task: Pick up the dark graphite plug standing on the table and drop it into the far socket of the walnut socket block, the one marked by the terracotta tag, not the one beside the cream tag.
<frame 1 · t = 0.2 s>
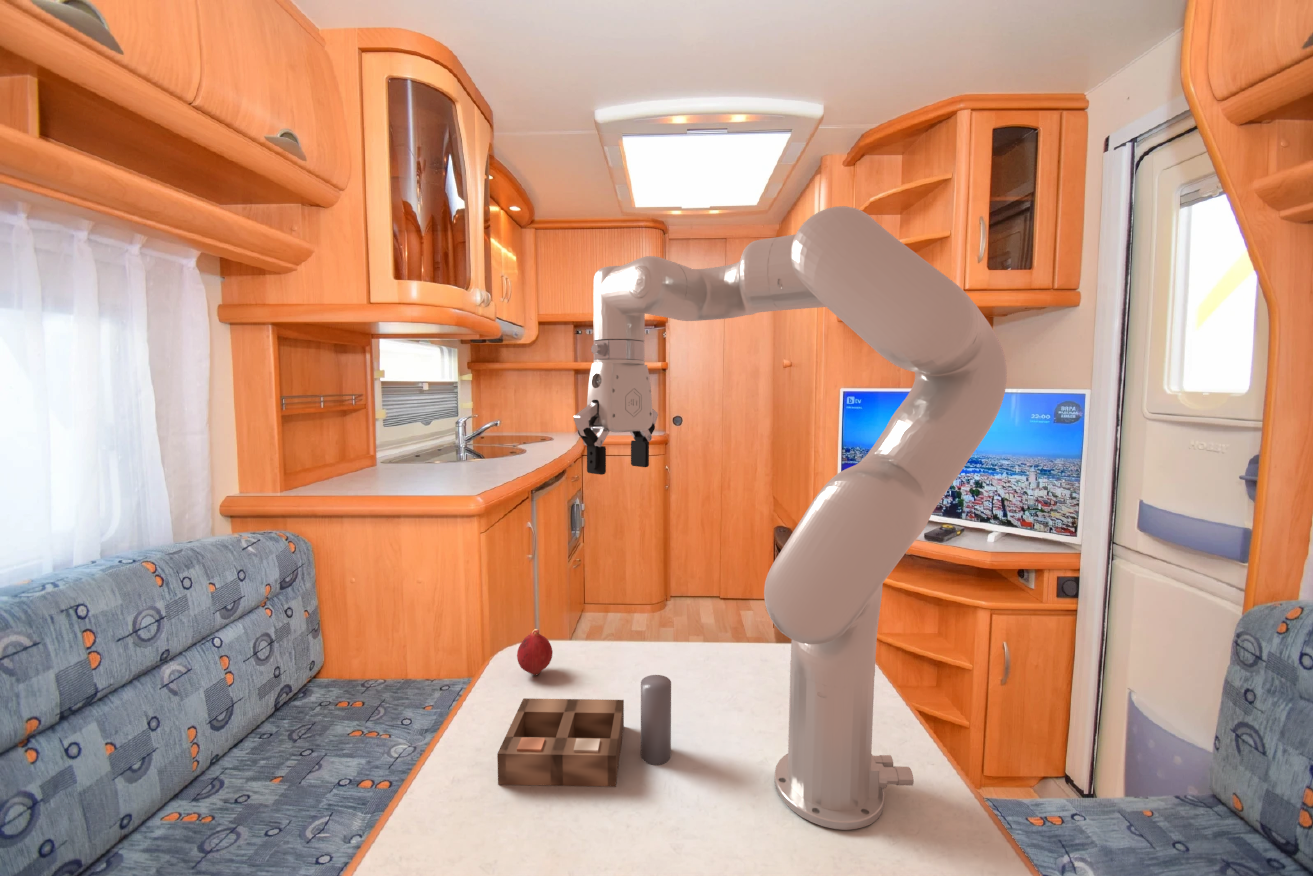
hand: (619, 469, 81), 36 cm above the table, tool pointing down, fingers open, 9 cm apart
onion: (535, 675, 92), on the table
plug: (655, 754, 72), on the table
socket block: (565, 753, 72), on the table
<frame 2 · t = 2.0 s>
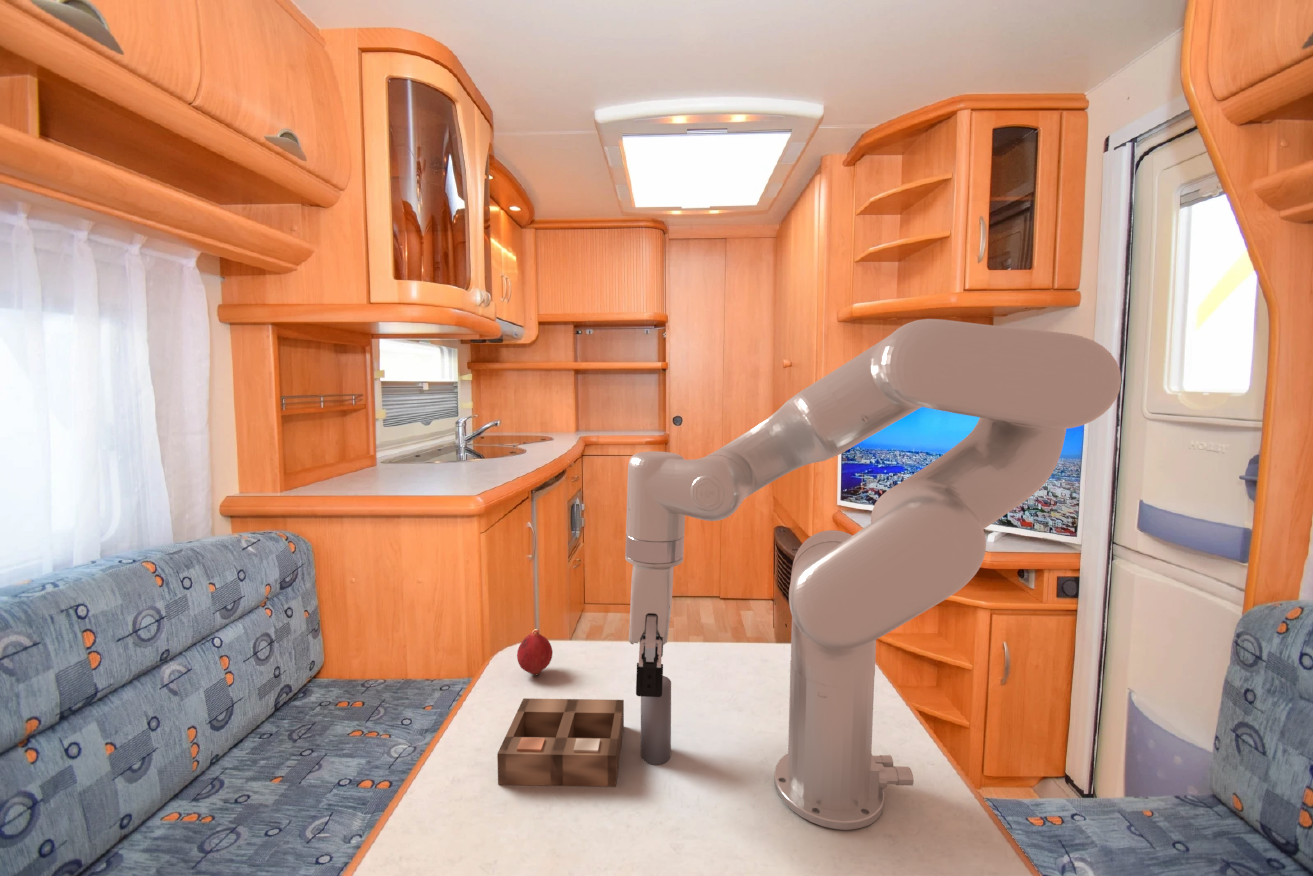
hand: (650, 674, 71), 11 cm above the table, tool pointing down, fingers open, 9 cm apart
nothing on the table moved.
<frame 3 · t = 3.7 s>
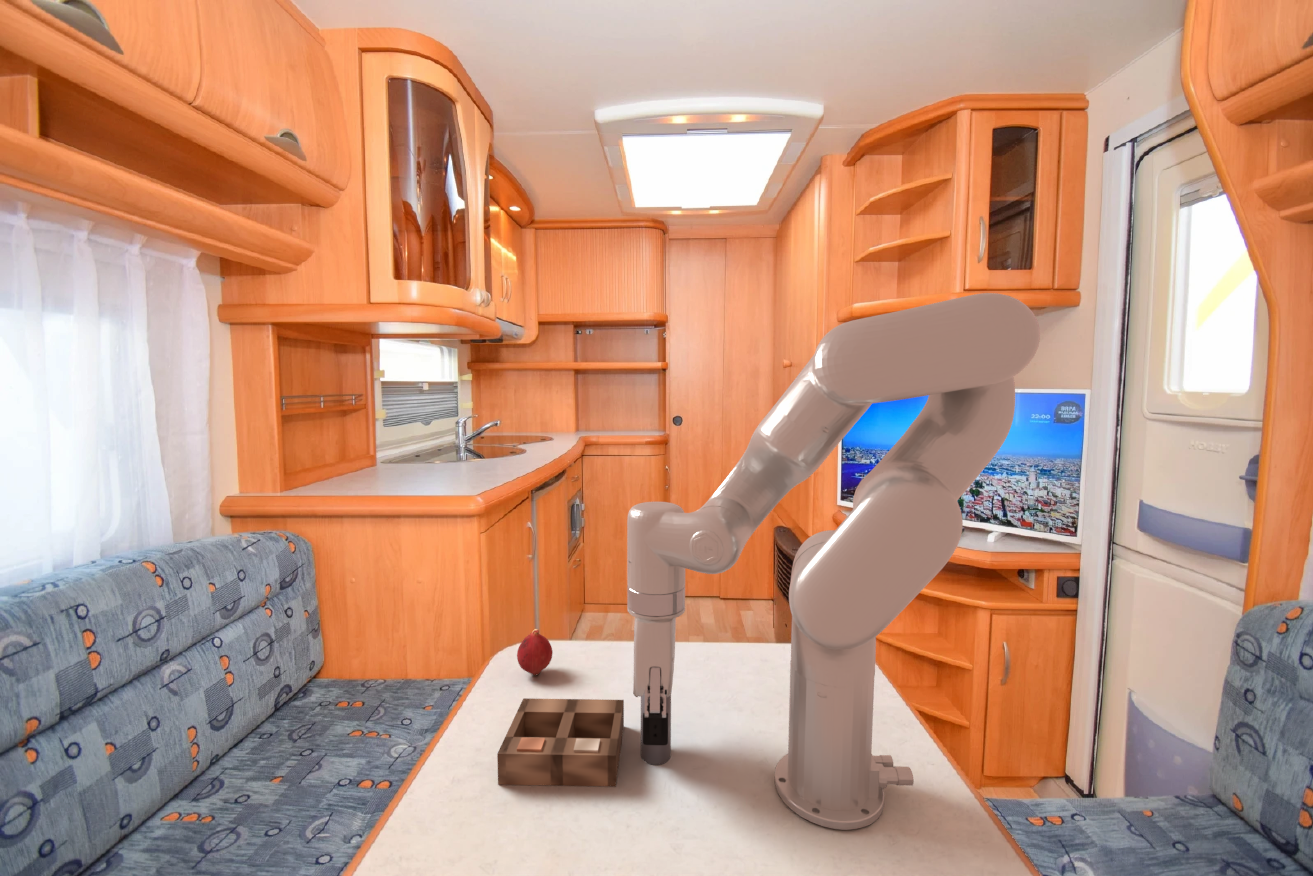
hand: (655, 731, 72), 3 cm above the table, tool pointing down, fingers closed on plug, 4 cm apart
plug: (655, 754, 72), on the table, touching gripper
everything else where it was.
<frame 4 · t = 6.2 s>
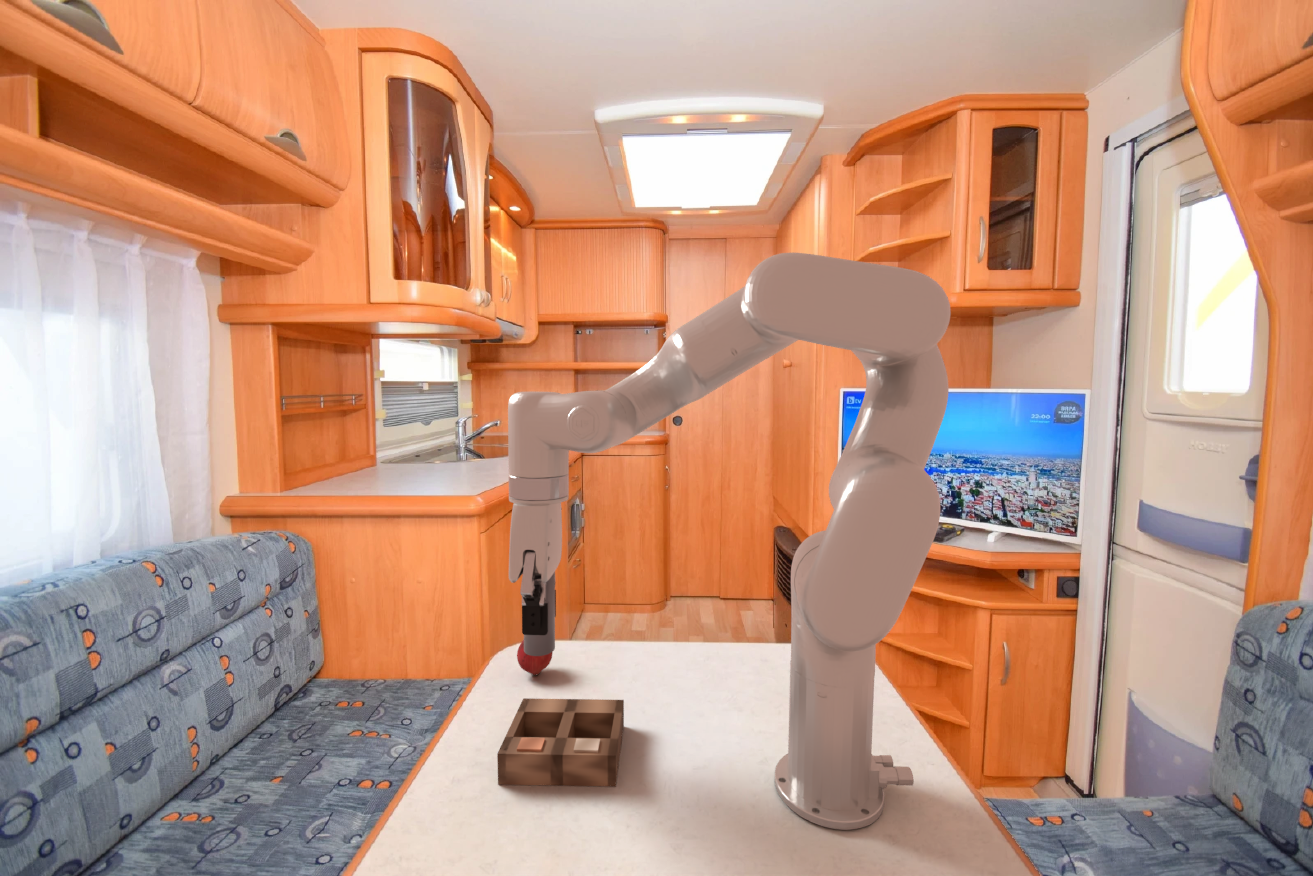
hand: (539, 624, 71), 18 cm above the table, tool pointing down, fingers closed on plug, 4 cm apart
plug: (539, 648, 71), point 14 cm above the table, touching gripper
everything else where it was.
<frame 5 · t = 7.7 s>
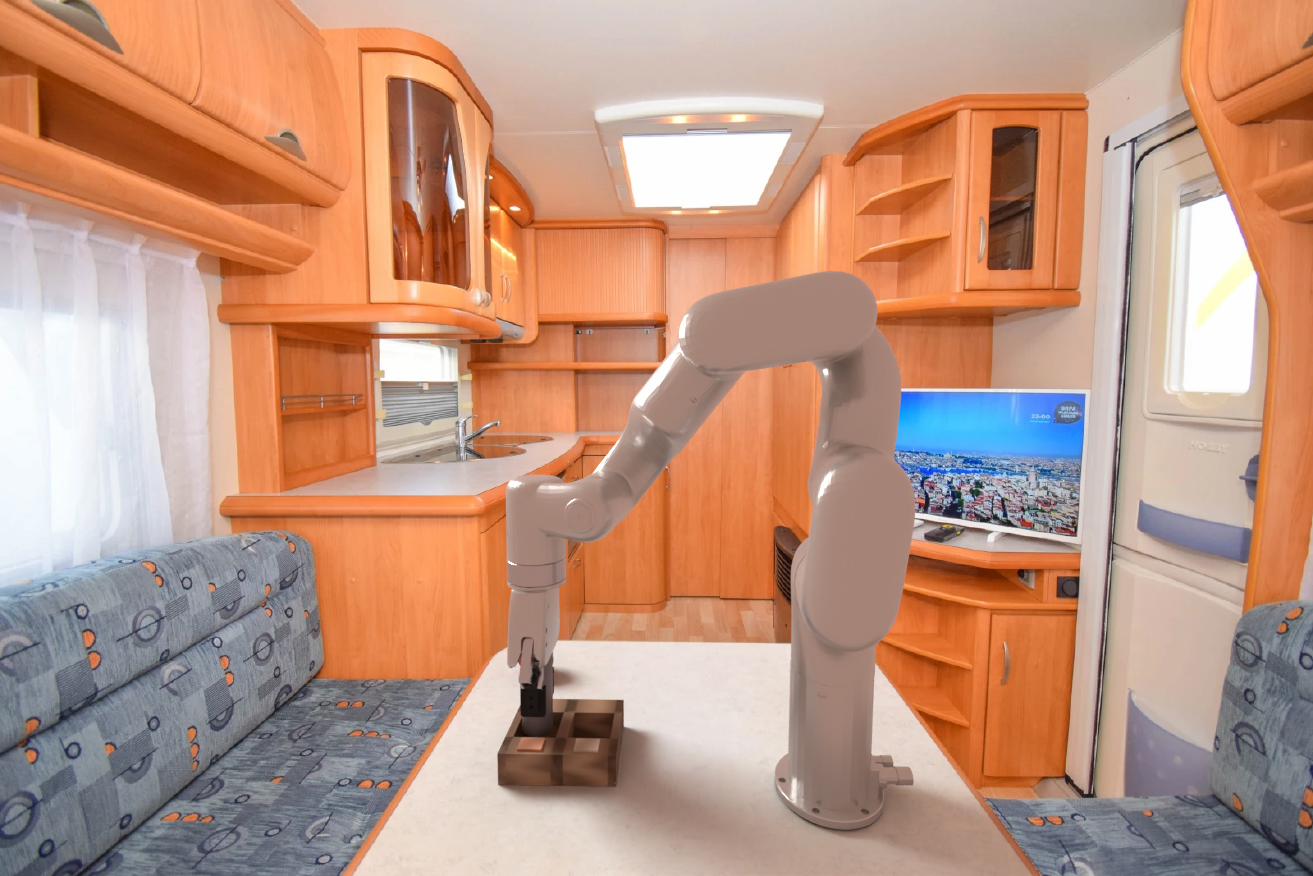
hand: (537, 703, 72), 7 cm above the table, tool pointing down, fingers closed on plug, 4 cm apart
plug: (537, 727, 72), point 4 cm above the table, touching gripper
everything else where it was.
when the fingers open (5 cm above the table, at t = 8.7 s): plug drops 1 cm, resting in socket block.
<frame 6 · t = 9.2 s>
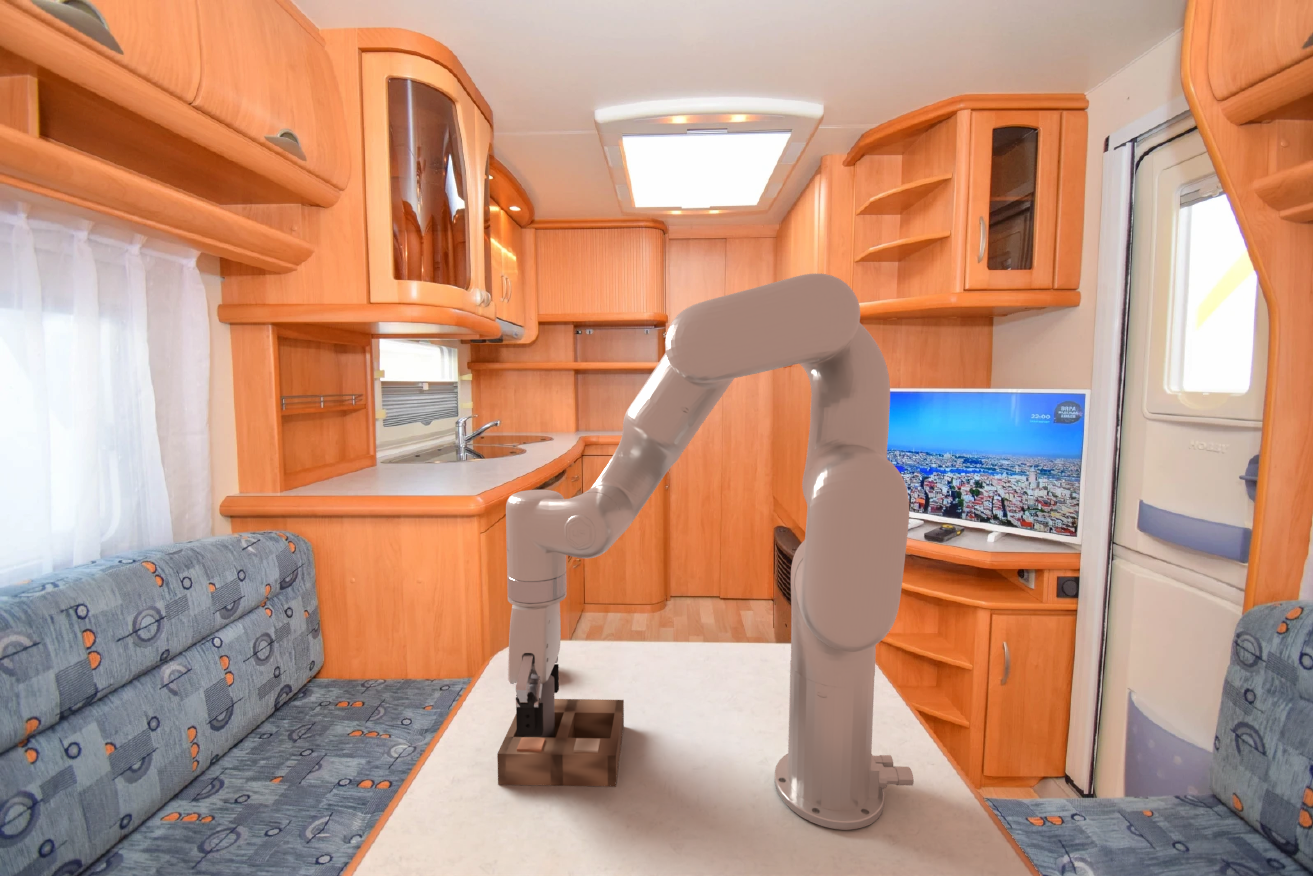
hand: (539, 711, 72), 6 cm above the table, tool pointing down, fingers open, 9 cm apart
plug: (539, 752, 72), resting in socket block
everything else where it was.
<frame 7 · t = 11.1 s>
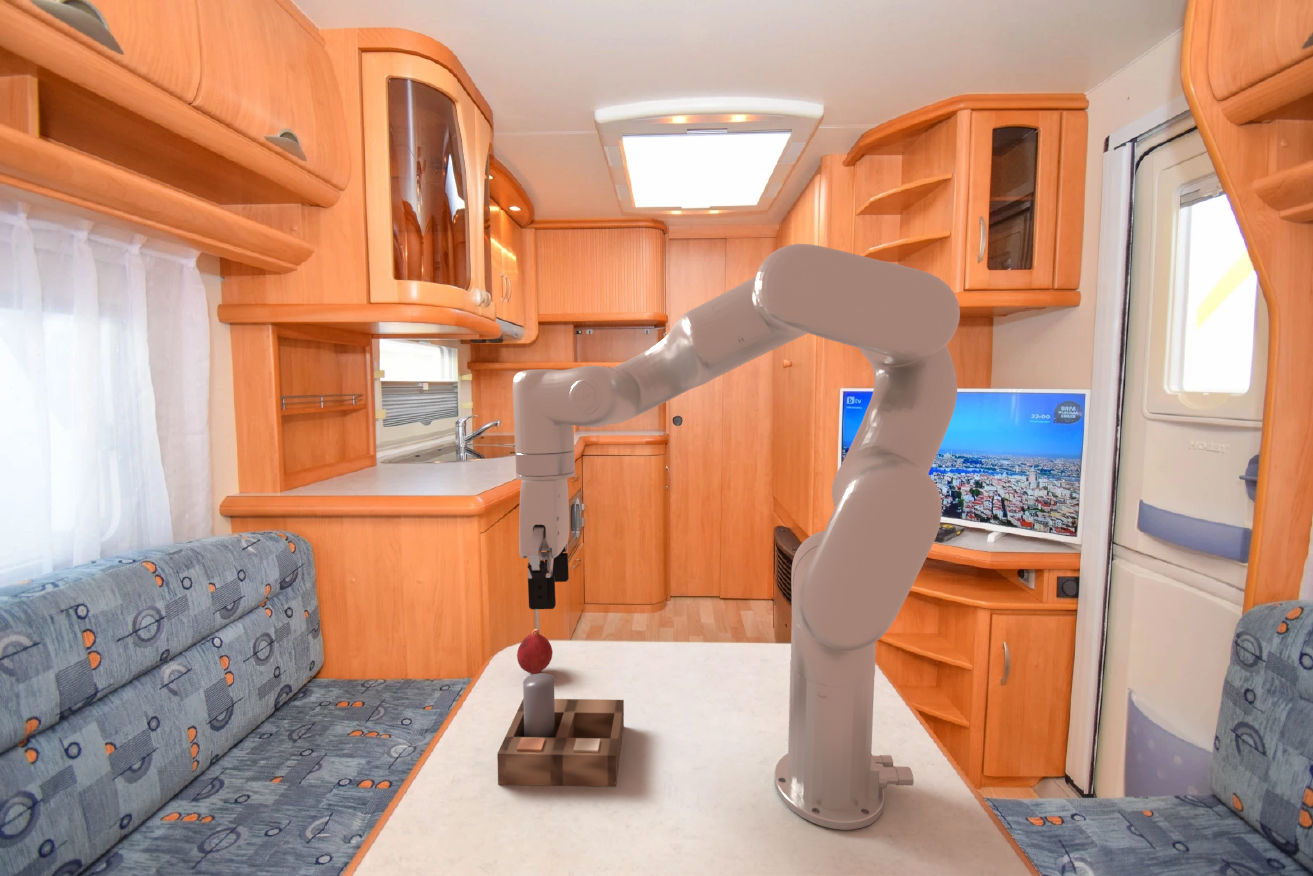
hand: (550, 593, 72), 21 cm above the table, tool pointing down, fingers open, 9 cm apart
nothing on the table moved.
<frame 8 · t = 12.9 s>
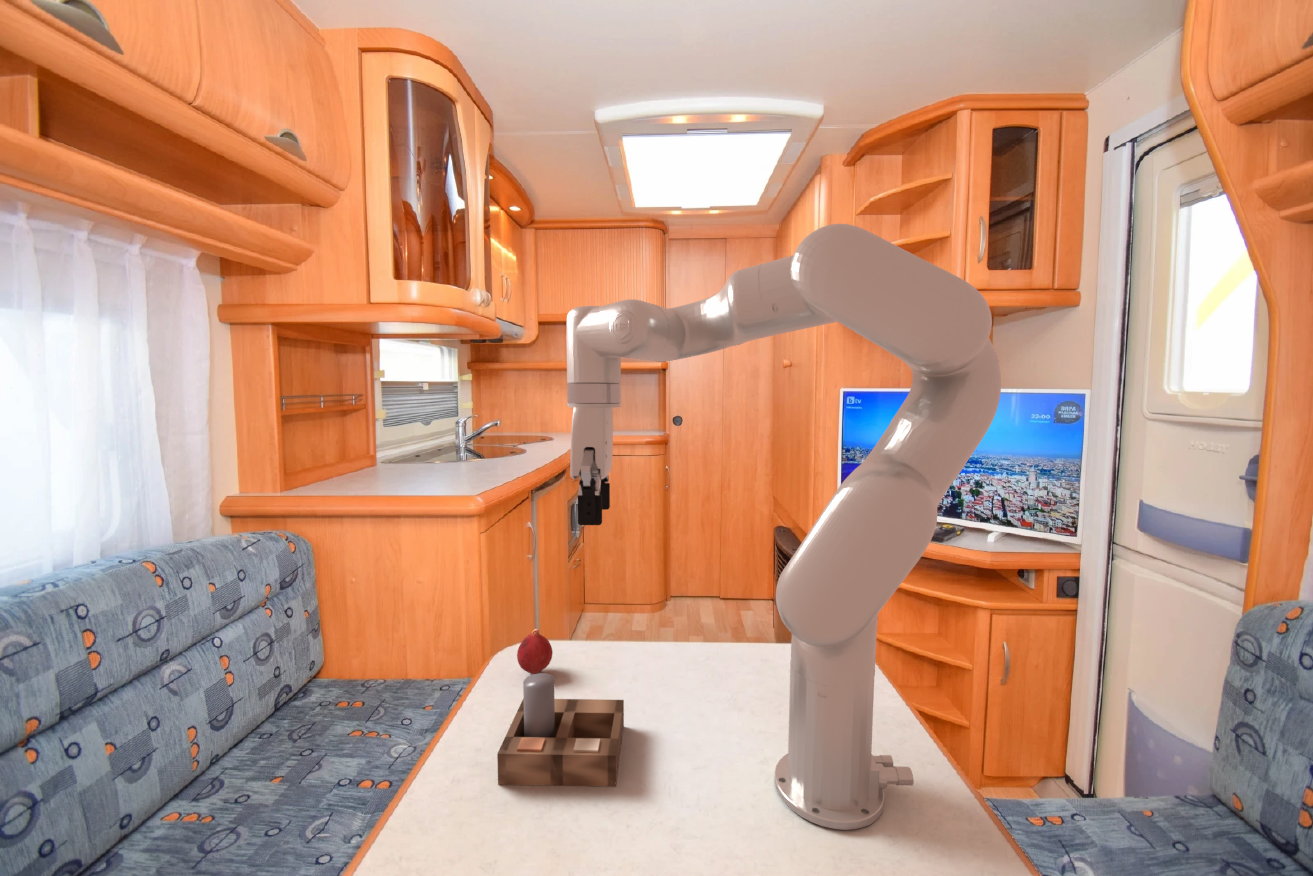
hand: (594, 516, 78), 30 cm above the table, tool pointing down, fingers open, 9 cm apart
nothing on the table moved.
at the end: plug 0.0 cm from the target spot on the socket block, point 0.0 cm above the socket block's base; plug tilted 0°; the gripper is holding nothing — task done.
